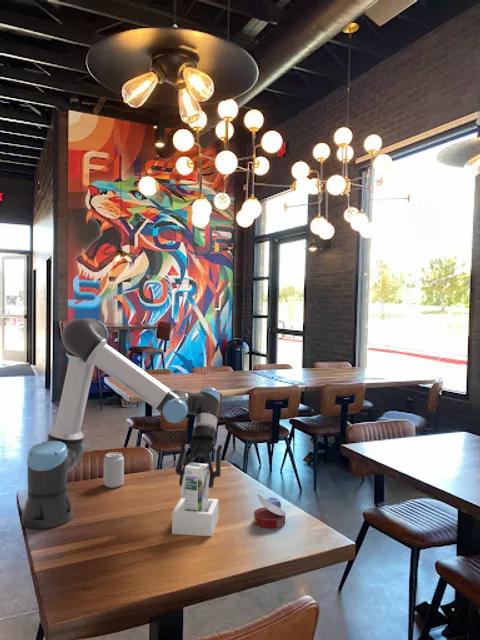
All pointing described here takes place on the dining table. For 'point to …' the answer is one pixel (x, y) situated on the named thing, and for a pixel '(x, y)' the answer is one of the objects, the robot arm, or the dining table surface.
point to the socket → (195, 519)
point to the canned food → (269, 515)
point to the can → (113, 470)
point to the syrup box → (196, 487)
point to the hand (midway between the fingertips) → (194, 496)
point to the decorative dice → (274, 501)
